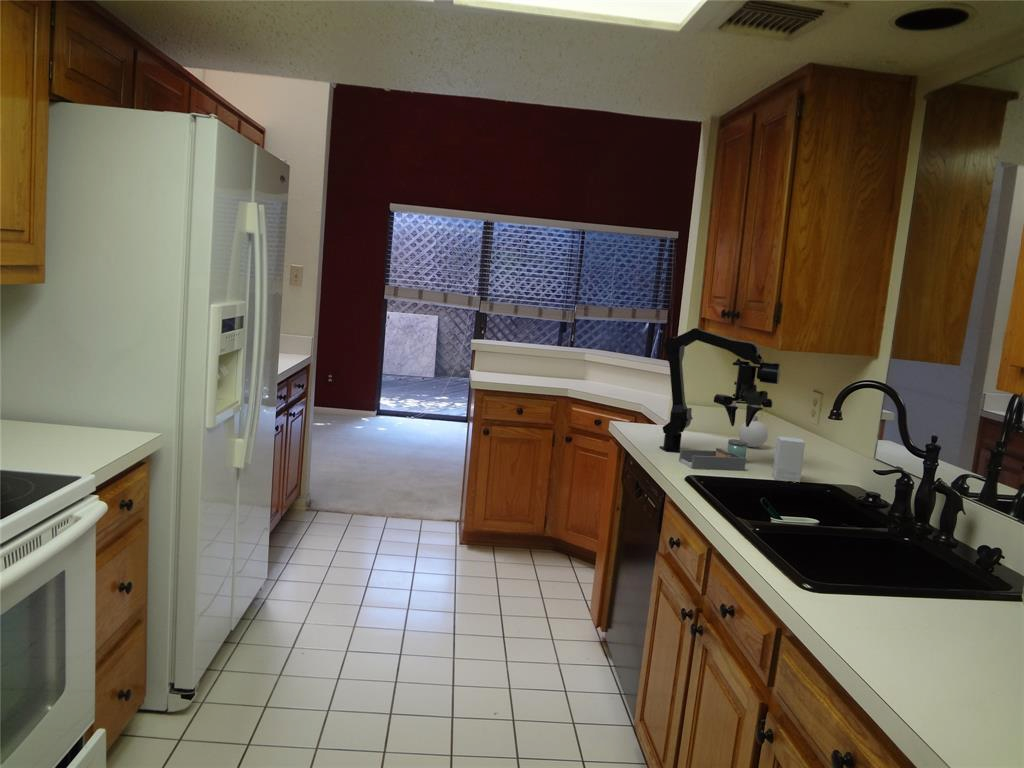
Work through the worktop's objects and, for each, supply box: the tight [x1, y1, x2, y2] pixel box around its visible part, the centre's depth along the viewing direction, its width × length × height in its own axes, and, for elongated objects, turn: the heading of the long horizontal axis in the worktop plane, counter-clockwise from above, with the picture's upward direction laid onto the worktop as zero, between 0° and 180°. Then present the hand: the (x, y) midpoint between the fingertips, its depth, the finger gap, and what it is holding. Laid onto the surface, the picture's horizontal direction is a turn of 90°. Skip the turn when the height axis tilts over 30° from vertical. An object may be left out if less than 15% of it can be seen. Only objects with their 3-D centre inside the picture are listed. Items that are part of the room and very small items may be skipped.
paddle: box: [715, 447, 732, 457], centre depth 245 cm, size 7×2×5 cm, turn 13°
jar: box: [727, 438, 748, 458], centre depth 255 cm, size 6×6×7 cm
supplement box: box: [771, 435, 806, 483], centre depth 235 cm, size 7×7×13 cm
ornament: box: [738, 415, 769, 448], centre depth 285 cm, size 10×10×12 cm
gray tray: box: [678, 448, 747, 471], centre depth 245 cm, size 10×18×4 cm, turn 103°
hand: (739, 426), depth 254 cm, fingers open, 5 cm apart
